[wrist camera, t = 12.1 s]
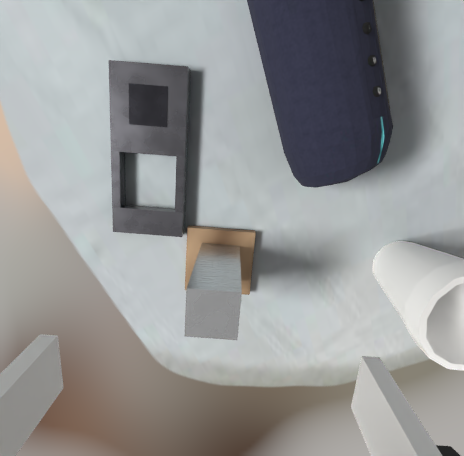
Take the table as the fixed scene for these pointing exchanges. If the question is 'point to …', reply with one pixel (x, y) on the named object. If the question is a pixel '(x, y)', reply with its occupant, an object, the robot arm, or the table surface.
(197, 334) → the tall grey prism
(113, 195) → the dark grey slotted board
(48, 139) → the table surface
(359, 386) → the robot arm
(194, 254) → the pad
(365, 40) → the portable speaker
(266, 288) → the table surface
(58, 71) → the table surface
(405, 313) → the foam cup
